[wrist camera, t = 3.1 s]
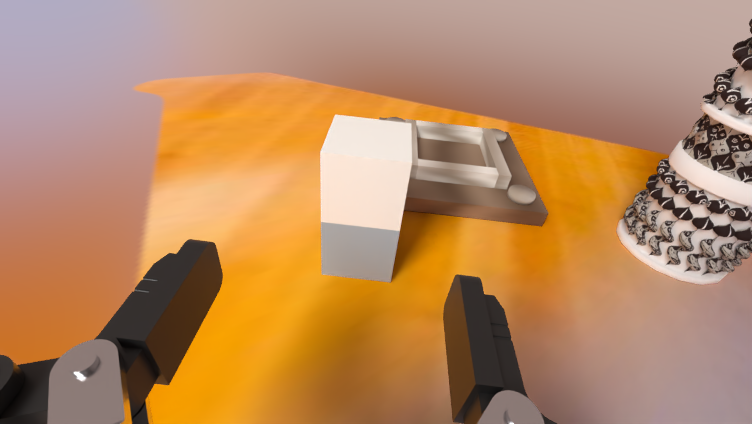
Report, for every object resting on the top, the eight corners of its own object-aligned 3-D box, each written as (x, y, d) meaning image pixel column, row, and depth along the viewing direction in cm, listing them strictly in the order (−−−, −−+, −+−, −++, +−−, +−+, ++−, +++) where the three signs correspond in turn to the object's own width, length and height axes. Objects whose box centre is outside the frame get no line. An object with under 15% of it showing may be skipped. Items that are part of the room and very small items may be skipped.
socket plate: (504, 143, 44) (512, 120, 42) (541, 226, 32) (555, 199, 30) (378, 128, 44) (380, 105, 42) (366, 205, 32) (369, 178, 30)
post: (392, 235, 29) (411, 123, 23) (390, 282, 25) (411, 162, 19) (333, 228, 29) (335, 114, 23) (321, 274, 25) (320, 152, 19)
